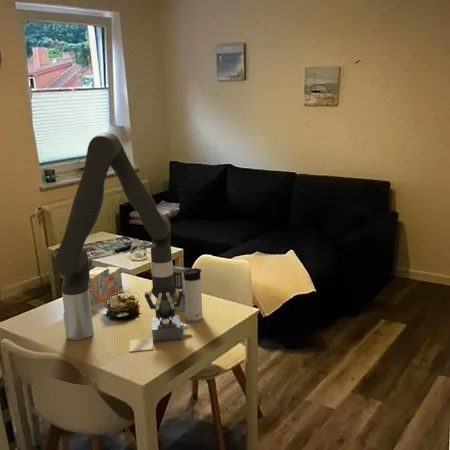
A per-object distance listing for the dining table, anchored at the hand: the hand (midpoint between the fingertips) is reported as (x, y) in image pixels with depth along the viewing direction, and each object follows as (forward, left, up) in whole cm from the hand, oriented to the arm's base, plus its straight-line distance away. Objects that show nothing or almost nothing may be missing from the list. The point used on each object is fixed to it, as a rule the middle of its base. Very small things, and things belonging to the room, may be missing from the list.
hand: (165, 317), depth 189 cm
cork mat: (-9, -6, -7) cm, 13 cm away
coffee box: (+6, +24, -7) cm, 26 cm away
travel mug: (+11, +11, -7) cm, 17 cm away
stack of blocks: (-26, +43, -7) cm, 51 cm away
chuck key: (0, 0, -5) cm, 5 cm away
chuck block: (+2, 0, -7) cm, 7 cm away
